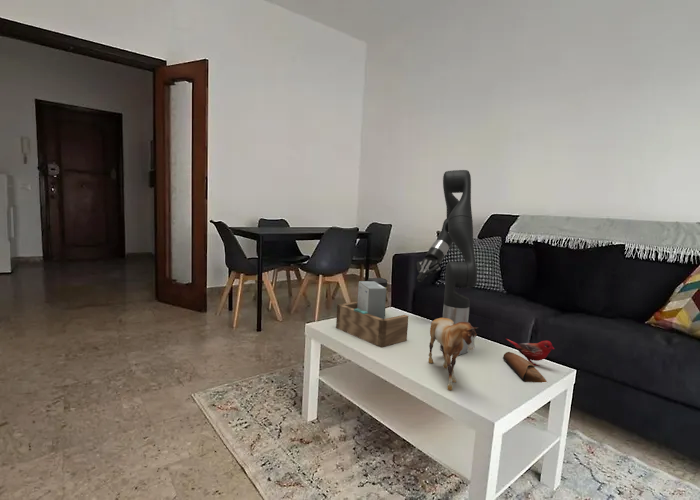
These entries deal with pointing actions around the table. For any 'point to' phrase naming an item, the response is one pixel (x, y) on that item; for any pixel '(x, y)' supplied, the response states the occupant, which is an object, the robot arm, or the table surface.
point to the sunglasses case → (523, 368)
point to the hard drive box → (372, 298)
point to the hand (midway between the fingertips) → (418, 280)
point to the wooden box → (371, 325)
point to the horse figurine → (451, 341)
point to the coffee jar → (379, 281)
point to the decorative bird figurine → (534, 350)
